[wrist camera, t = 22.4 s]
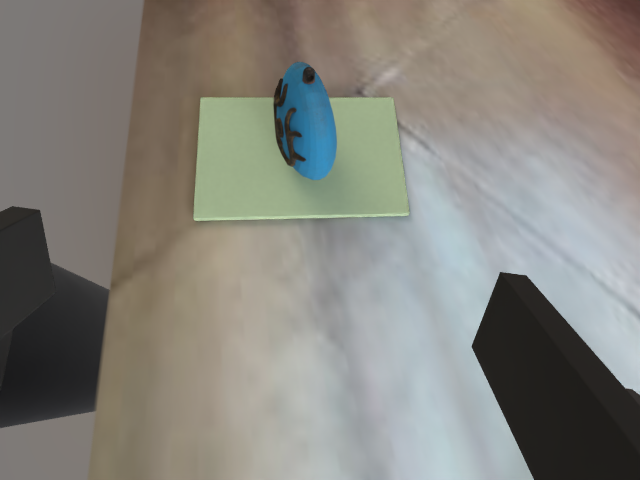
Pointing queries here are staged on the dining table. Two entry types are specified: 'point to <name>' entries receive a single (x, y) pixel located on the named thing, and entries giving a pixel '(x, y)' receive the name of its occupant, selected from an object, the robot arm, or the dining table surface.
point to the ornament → (305, 122)
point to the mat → (284, 181)
